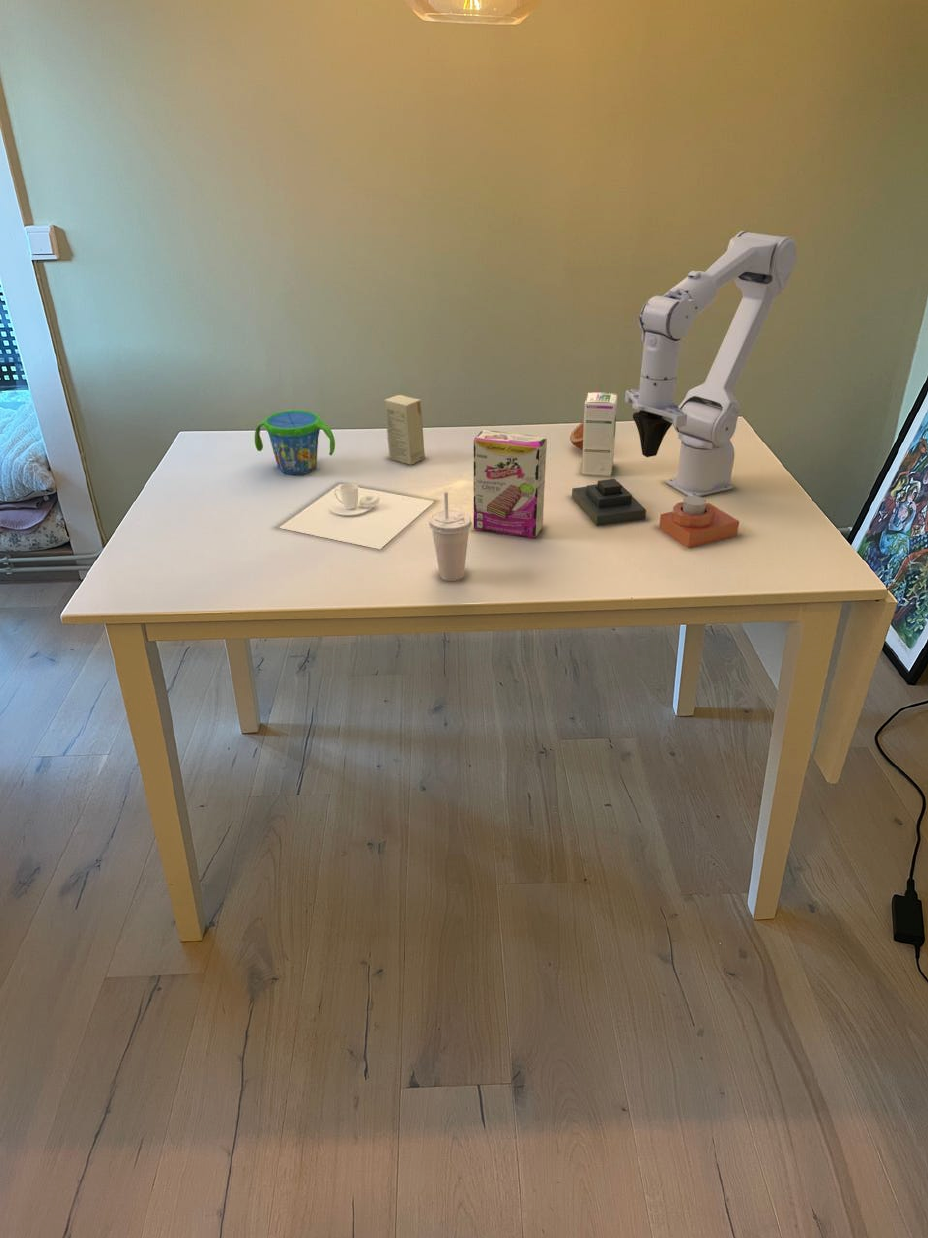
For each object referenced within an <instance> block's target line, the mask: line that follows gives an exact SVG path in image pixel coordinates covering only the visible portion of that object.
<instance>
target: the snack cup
mask: <svg viewBox="0 0 928 1238" xmlns="http://www.w3.org/2000/svg"><path fill="white" fill-rule="evenodd" d="M262 426H264V428H265V430H266V432H267V433H268V437H269V441H270V445H271V448H272V452H273V455H274V458H275V462H276V464H277V468H278V470H279V471H280V472H281V473H282V474H288V475H296V474H298V475H304V474H305V473H310V472H312V471H313V470H315V469H316V468H317V465H318V449H319V437H320V430H322V431H323V432H324V434H325V435H326V436H327V438H328V439H329V453H328V454H329V456H332V455H333V454H334V452H335V447H336V440H335V436H334V434H333V431H332V430H331V429H332V428H330V427H329V425H328V424H326V422H324V421H322V420H321V417H320V416H319V414H317V413H315V412H313V411H309V410H302V409H292V410H282V411H278V412H274V413H272V414H270V415H268V416H266V418H265V419H263V420H262V421H260V423H258V424H257V426H256V428H255V431H254V445H255V449H256V450H257V451H258V452H261V451H262V450H263V448H264V444H263V440H262V438H261V428H262Z"/></svg>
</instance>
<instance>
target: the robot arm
mask: <svg viewBox="0 0 928 1238" xmlns="http://www.w3.org/2000/svg"><path fill="white" fill-rule="evenodd" d="M797 253H798V252H797V244H796V240H795V239H794V238H793V237H792V236H780V235H771V234H766V233H765V234H764V233H756V232H749V231H748V230H741V231H739V232H738V233H736V235H735V236H733V237H732V238H730V240H729V242H728V246H727V248H726V251H725V252H724V253H723V254H722V255H721V256H720V257H719V258H718V259H717V260H716V261H715V262H714V263H713V264H711V266H710V267H708V268H707V269H706V270H705V271H702V270H691V271H690V272H689V273H688V274H687V276H686V277H685V278H684V279H682V280H681V281H679V283H677V284H675V285H674V286H673V287H671V288H670V289H669V290H668V291H667V292H666V293H665V294H663V295H654V296H652V297H651V298H649V299H647V300H646V301H645V302H644V304H643V305H642V308H641V310H640V315H638V318H637V323H638V327H639V330H640V332H641V337H640V341H641V343H642V345H643V348H642V349H643V350H642V358H641V369H640V379H639V387H638V389H636V388H633V389H627V390H625V398H624V402H625V403H627V404H632V409H634V410H635V411H638V412H633V414H632V418H633V419H632V420H633V421H634V423H635V425H636V428H637V432H638V435H639V436H638V437H639V442H640V449H641V455H642V456H644V457H645V458H650V457H651V458H652V457H656V456H657V455H658V453H659V450H660V447H661V444H662V443H663V440H664V438H665V436H666V434H667V432H668V431H669V430H670V428H671V427H673V429H674V431H675V432H676V433H677V434H678V436H677V439H678V440H680V441H681V442H680V448H679V456H678V465H677V471H676V477H675V478H669V479H666V480H665V483H666V484H667V485H669V486H670V487H672V488H674V489H675V490H677V491H679V492H680V493H682V494H684V495H685V496H686V497H688V496H699V497H703V496H707V495H711V494H717V493H720V492H725V491H730V490H732V489H733V487H734V486H733V485H732V484H731V481H732V475H733V474H732V473H733V467H734V461H735V448H734V444H733V443H732V441H731V439H732V438H733V436H734V434H735V432H736V429H737V422H738V419H739V415H740V413H741V410H742V409H741V405H740V404H739V402H738V400H737V398H736V397H735V395H734V391H735V388H736V387H737V385H738V382H739V380H740V378H741V376H742V374H743V371H744V370H745V367H746V365H747V362H748V361H749V359H750V356H751V354H752V351H753V349H754V347H755V345H756V342H757V341H758V339H759V336H760V334H761V332H762V330H763V327H764V326H765V323H766V321H767V319H768V316H769V314H770V313H771V310H772V307H773V305H774V303H775V301H776V299H777V297H779V296H781V295H782V294H783V292H784V290H785V288H786V286H787V284H788V282H789V280H790V278H791V275H792V273H793V271H794V269H795V267H796V264H797V261H798V259H797V258H798V257H797ZM732 281H734V284H735V286H736V287H737V288H738V289H739V290H740V291H741V293H742V298H741V301H740V303H739V305H738V307H737V310H736V312H735V314H734V316H733V318H732V320H731V323H730V325H729V327H728V330H727V332H726V334H725V336H724V339H723V341H722V343H721V345H720V347H719V350H718V352H717V354H716V356H715V359H714V361H713V362H712V365H711V368H710V369H709V372H708V374H707V376H706V379H705V381H704V382H703V383H701V384H699V385H697V386H694V387H692V388H690V389H689V390H688V391H687V393H686V395H685V397H684V399H683V400H682V402H681V403H680V404H679V405H677V404H676V403H675V394H676V393H675V392H676V386H677V377H678V370H679V369H678V368H679V361H680V356H681V355H680V354H681V346H682V339H683V338H684V337H686V336H687V334H688V333H689V330H690V329H691V327H692V324H693V323H694V322H695V321H696V318H697V316H699V314H701V313H702V312H703V311H705V310H706V309H707V308H708V307H709V306H711V305H712V304H713V303H714V302H715V301H716V300H717V297H718V291H719V290H720V289H722V288H723V287H725V286H727V284H729V283H730V282H732Z"/></svg>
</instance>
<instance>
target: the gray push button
mask: <svg viewBox="0 0 928 1238" xmlns="http://www.w3.org/2000/svg"><path fill="white" fill-rule="evenodd" d="M682 502H683V509H682V511H683V512H684V513H686V514H690V515H702V514H704V513H705V507H706V503H707V500H706V499H705V498H704V497H703V496H685V497H684V498H683V501H682Z"/></svg>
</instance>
